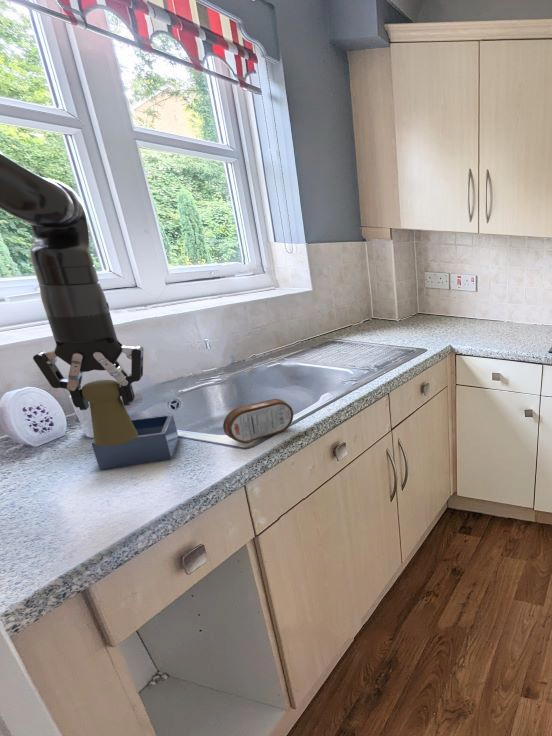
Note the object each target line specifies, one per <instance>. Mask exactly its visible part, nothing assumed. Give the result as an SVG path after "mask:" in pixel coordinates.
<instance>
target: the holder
mask: <svg viewBox="0 0 552 736" xmlns="http://www.w3.org/2000/svg"><path fill="white" fill-rule="evenodd" d="M130 419H131V421H132V423H133V425H134V427H135V429H136V431H137V433H138V436H137V437H136V438H135V439H133V440H131V441H129V442H125V443H122V444H117V445H111V446H98V445H96V444H95V442H94V439H93V440H92V442H91V443H90V444H91V447H92V451H93V455H94V457H95V460H96V463H97V466H98V470H99V471H103V470H108V469H109V470H110V469H117V468H121V467H128V466H134V465H140V464H147V463H153V462H159V461H166V460H172V458H173V455H174V452H175V449H176V447H177V443H178V440H179V434H178V429H177V425H176V421H175V418H174V414H172V413H171V414H170V413H169V414H162V415H154V416H146V417H139V418H138V417H137V418H130Z"/></svg>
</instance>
